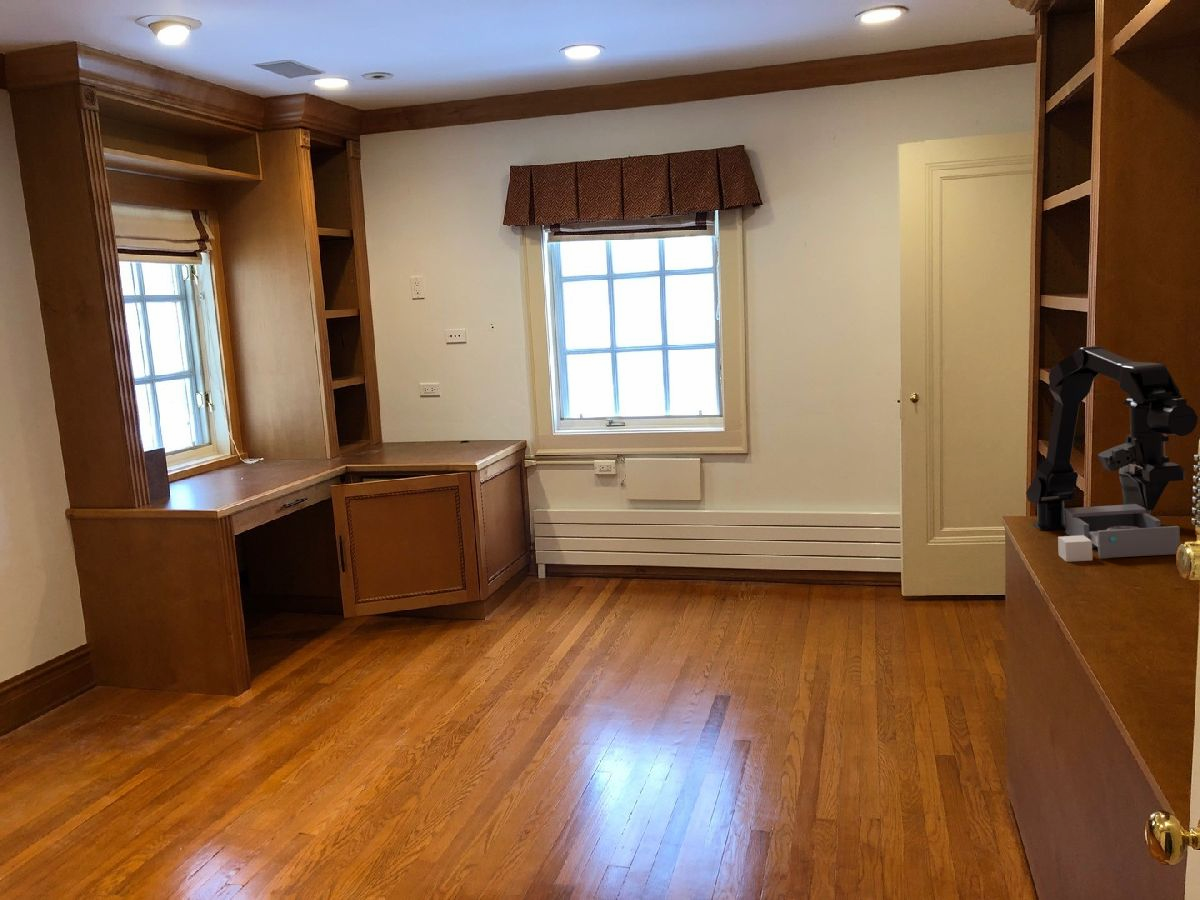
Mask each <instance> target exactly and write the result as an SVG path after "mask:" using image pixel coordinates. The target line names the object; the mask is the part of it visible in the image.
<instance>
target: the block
mask: <svg viewBox="0 0 1200 900" xmlns="http://www.w3.org/2000/svg"><path fill="white" fill-rule="evenodd" d="M1057 542H1058V543H1057V544H1058V545H1057V548H1058V550H1057V551H1058V556H1059V557H1060V559H1061V558H1062V560H1064V561H1065V562H1066V563H1069V562H1070V563H1071V562H1086V561H1093V548H1092V541H1091V540H1090V539H1088V538H1087V537H1085V536H1084V535H1079V536H1068V535H1064V536H1058V537H1057Z"/></svg>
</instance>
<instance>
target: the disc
mask: <svg viewBox="0 0 1200 900" xmlns="http://www.w3.org/2000/svg"><path fill="white" fill-rule="evenodd" d="M1132 528H1140V527H1134V526H1114V527H1110V528H1108V529H1107V530H1115V529H1132Z"/></svg>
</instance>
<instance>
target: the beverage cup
mask: <svg viewBox="0 0 1200 900" xmlns="http://www.w3.org/2000/svg"><path fill="white" fill-rule="evenodd" d="M1125 472H1129V465H1126V466H1124V467H1123V468H1119V470H1118V476H1119V481H1120V484H1121V492H1122V500H1123V501H1122V502H1123V505H1127V504H1137V505H1139V506H1141V507H1143V508H1144V505H1143V502H1142V499H1141V496H1140V493H1139V490H1138V487H1137V484H1136V482H1135V480H1133V479H1132V478H1131V477H1129V476H1128V475H1127V474H1126V473H1125ZM1151 511H1152V510H1147V509H1146V513H1148V514H1149V515H1151Z"/></svg>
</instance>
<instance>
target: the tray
mask: <svg viewBox="0 0 1200 900" xmlns="http://www.w3.org/2000/svg"><path fill="white" fill-rule="evenodd" d="M1180 532H1181V530H1180V526H1178V525H1172V526H1171V525H1170V526H1161V527H1149V528H1132V529H1115V530H1098V531H1096V532H1089V539H1090V540H1091V541H1092V543H1093V544H1094V545H1095V546H1097V547H1096V548H1097V555H1098V558H1099V559H1108V558H1109V559H1110V558H1124V557H1129V558H1131V557H1145V556H1147V557H1148V556H1162V555H1163V556H1165V555H1168V556H1169V555H1177V554H1176V548H1177V546H1178V545H1179V544H1180V545H1181V539H1180V538H1181V535H1180V534H1181V533H1180Z"/></svg>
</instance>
